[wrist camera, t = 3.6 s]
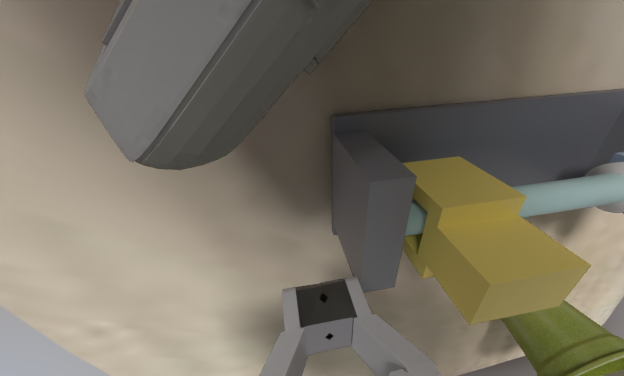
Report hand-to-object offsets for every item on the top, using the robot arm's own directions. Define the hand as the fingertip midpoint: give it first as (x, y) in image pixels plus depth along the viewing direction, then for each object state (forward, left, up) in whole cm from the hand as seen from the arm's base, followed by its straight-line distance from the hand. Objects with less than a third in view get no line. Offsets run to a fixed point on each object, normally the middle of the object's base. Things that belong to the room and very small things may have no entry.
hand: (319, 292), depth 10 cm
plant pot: (+20, +26, -9) cm, 34 cm away
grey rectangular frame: (0, +14, -8) cm, 16 cm away
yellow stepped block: (0, +8, -6) cm, 9 cm away
